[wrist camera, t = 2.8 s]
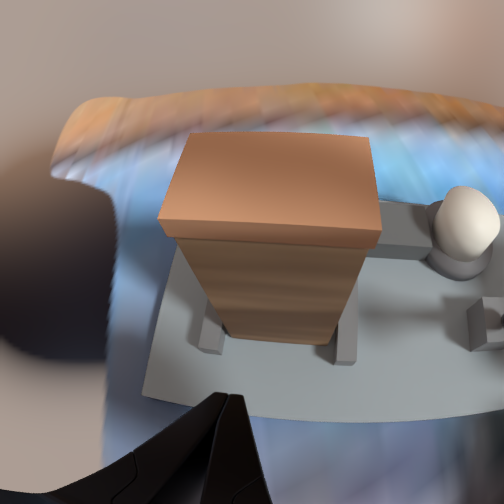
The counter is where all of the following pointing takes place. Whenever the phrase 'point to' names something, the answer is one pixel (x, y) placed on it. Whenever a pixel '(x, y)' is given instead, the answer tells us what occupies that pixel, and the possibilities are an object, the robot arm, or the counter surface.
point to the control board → (362, 330)
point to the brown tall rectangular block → (275, 228)
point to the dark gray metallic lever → (502, 320)
